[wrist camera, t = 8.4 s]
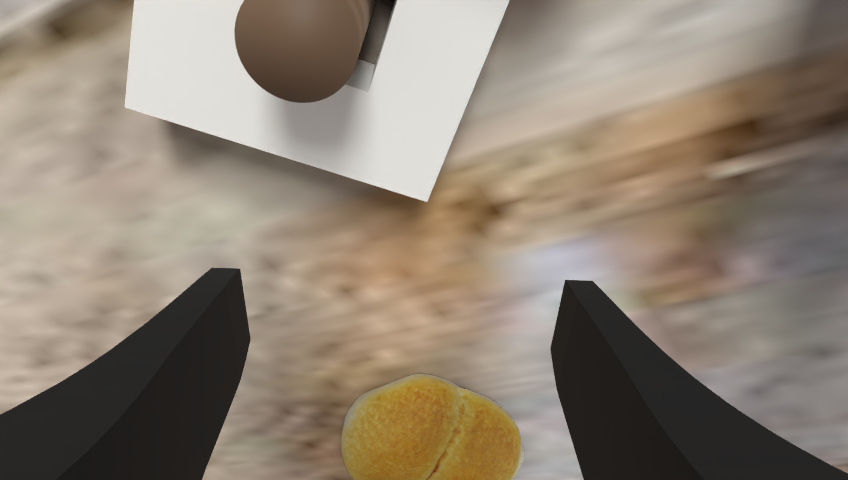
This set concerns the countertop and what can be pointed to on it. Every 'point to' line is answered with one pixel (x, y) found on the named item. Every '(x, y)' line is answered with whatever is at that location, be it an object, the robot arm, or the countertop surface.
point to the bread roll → (429, 434)
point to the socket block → (331, 117)
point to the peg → (301, 44)
